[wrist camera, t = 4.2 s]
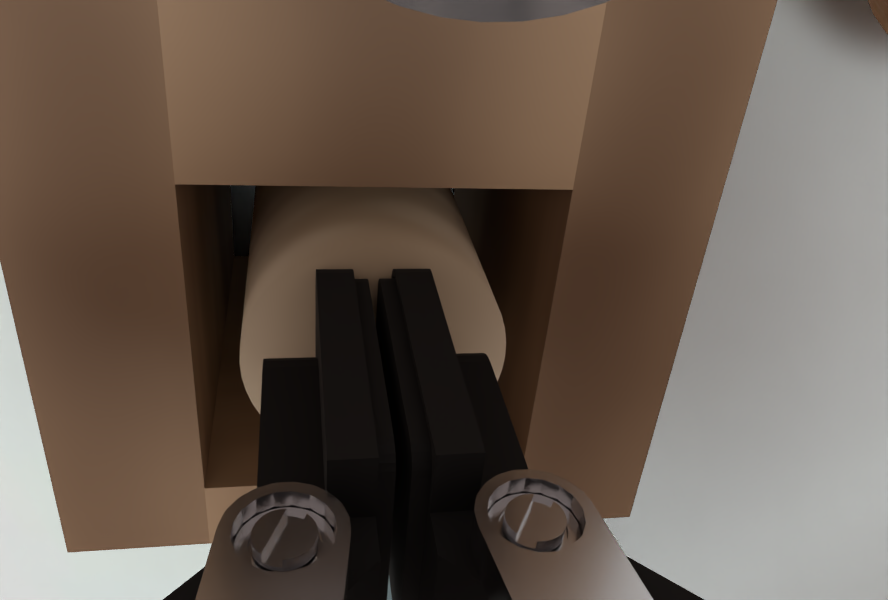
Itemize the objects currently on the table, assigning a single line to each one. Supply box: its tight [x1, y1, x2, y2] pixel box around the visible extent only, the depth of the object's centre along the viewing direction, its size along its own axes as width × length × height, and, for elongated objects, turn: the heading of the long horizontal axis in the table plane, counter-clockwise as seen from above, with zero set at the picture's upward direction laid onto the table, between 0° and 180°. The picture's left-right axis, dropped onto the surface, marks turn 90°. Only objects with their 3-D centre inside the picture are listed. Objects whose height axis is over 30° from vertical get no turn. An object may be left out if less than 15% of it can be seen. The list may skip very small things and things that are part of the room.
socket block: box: [0, 0, 777, 552], centre depth 14 cm, size 10×16×8 cm, turn 175°
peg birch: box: [240, 185, 506, 414], centre depth 15 cm, size 4×4×8 cm
